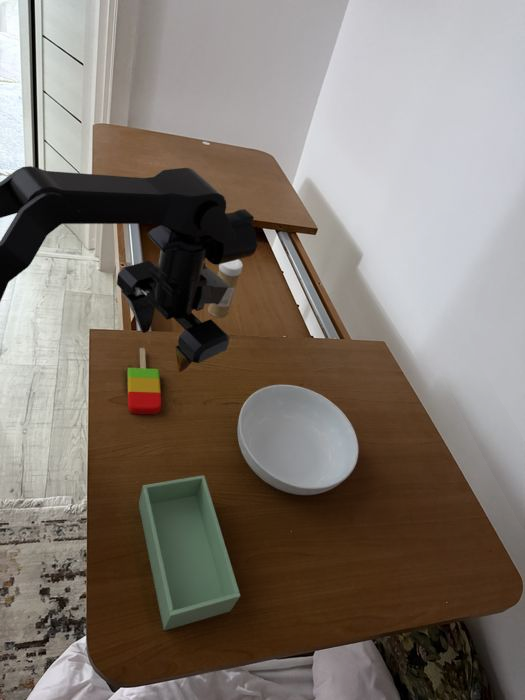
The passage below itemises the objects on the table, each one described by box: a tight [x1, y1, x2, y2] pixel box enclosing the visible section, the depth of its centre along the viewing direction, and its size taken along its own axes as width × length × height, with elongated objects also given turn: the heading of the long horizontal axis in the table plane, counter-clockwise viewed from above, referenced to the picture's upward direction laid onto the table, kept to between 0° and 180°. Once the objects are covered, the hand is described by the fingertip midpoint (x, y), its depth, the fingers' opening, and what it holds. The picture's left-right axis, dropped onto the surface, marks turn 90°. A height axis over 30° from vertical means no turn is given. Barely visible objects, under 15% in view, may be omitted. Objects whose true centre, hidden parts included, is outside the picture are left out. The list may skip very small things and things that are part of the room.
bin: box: [138, 474, 241, 632], centre depth 69 cm, size 18×9×6 cm, turn 20°
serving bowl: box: [237, 384, 359, 496], centre depth 86 cm, size 21×21×7 cm
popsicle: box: [126, 347, 162, 415], centre depth 90 cm, size 6×15×2 cm, turn 12°
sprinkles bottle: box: [207, 259, 244, 319], centre depth 105 cm, size 5×5×13 cm
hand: (163, 350), depth 76 cm, fingers open, 9 cm apart
